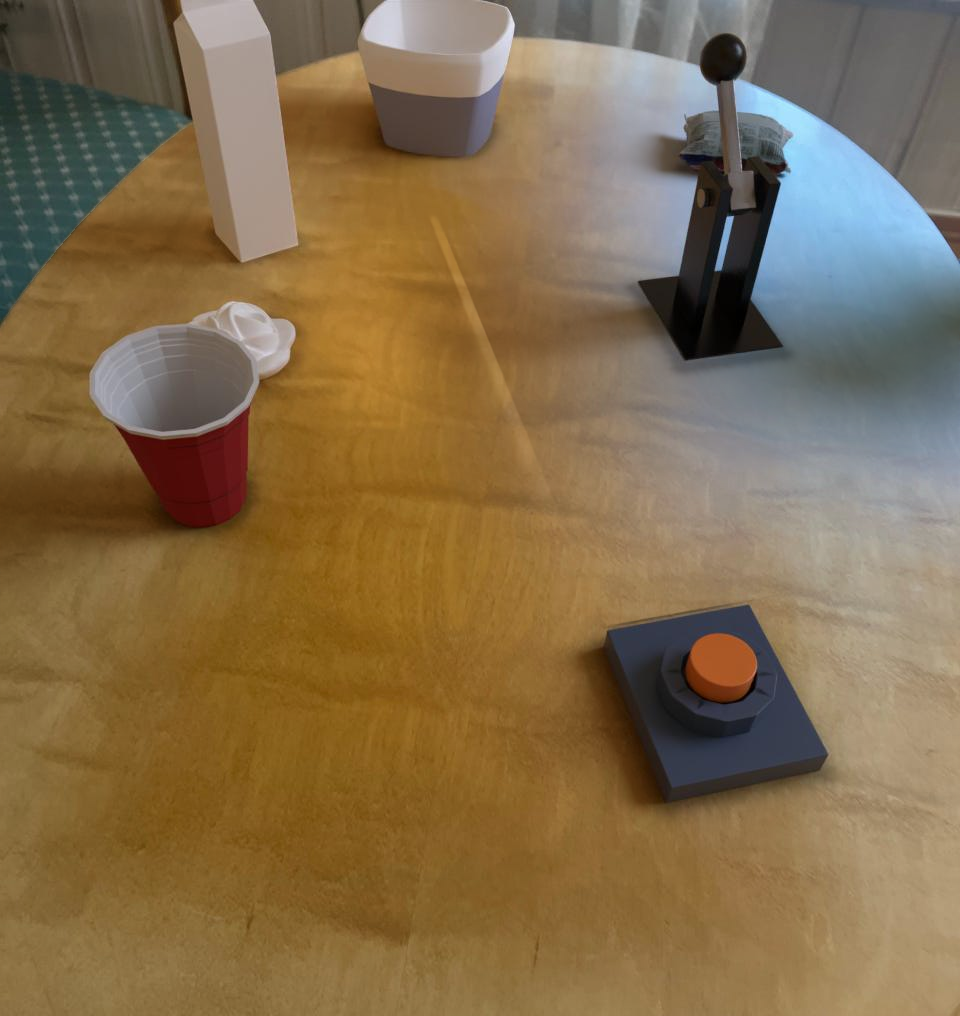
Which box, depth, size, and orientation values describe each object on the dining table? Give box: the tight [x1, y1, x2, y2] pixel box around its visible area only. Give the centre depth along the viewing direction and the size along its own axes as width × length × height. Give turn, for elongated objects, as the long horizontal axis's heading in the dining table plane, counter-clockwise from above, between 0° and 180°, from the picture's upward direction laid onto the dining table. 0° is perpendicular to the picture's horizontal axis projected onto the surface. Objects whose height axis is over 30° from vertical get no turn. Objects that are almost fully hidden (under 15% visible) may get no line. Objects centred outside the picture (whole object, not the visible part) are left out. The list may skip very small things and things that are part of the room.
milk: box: [172, 0, 299, 264], centre depth 88 cm, size 6×6×22 cm
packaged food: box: [677, 110, 794, 176], centre depth 106 cm, size 9×12×5 cm
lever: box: [698, 32, 756, 218], centre depth 79 cm, size 13×4×4 cm
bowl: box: [357, 0, 516, 158], centre depth 106 cm, size 15×15×11 cm
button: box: [685, 633, 757, 703], centre depth 61 cm, size 4×4×2 cm
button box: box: [603, 604, 829, 804], centre depth 63 cm, size 12×10×4 cm
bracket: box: [638, 156, 784, 361], centre depth 84 cm, size 12×9×14 cm
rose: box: [186, 301, 297, 381], centre depth 84 cm, size 10×4×10 cm
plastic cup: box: [89, 323, 260, 529], centre depth 70 cm, size 11×11×12 cm
